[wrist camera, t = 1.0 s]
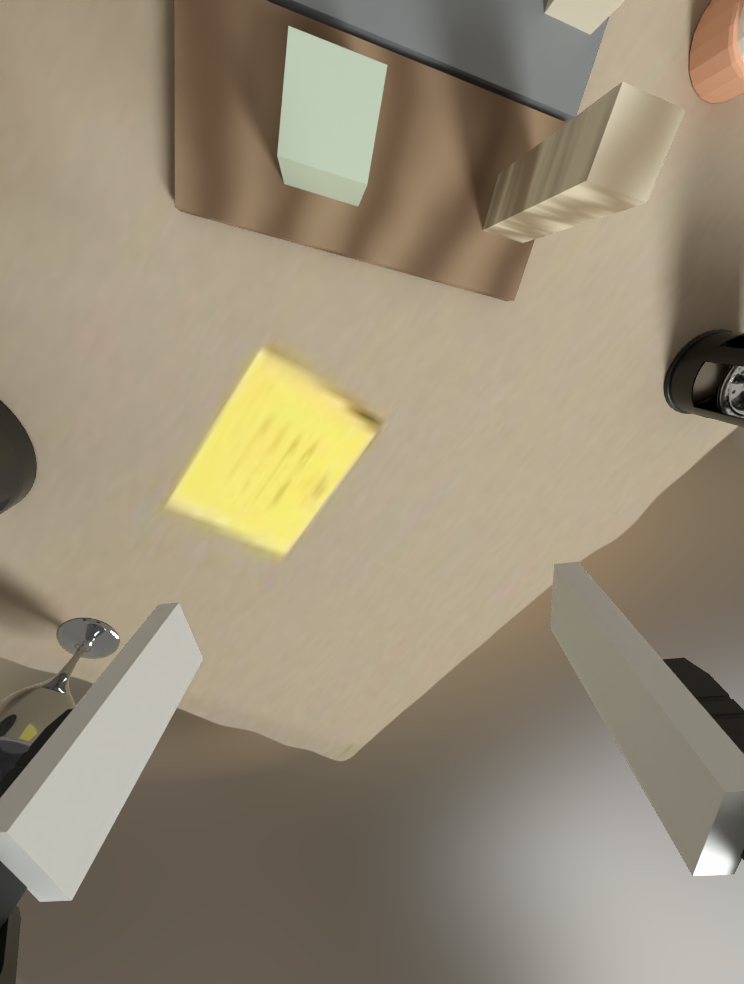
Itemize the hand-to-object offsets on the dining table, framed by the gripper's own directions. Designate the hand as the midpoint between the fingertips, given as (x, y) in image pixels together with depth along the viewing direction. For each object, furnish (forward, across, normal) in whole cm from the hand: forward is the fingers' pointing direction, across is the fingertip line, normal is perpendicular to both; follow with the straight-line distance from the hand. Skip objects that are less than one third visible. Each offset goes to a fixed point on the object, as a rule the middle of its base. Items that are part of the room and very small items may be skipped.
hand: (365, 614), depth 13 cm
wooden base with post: (+29, +3, +21) cm, 36 cm away
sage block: (+26, -1, +23) cm, 35 cm away
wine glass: (+26, -40, -22) cm, 53 cm away
